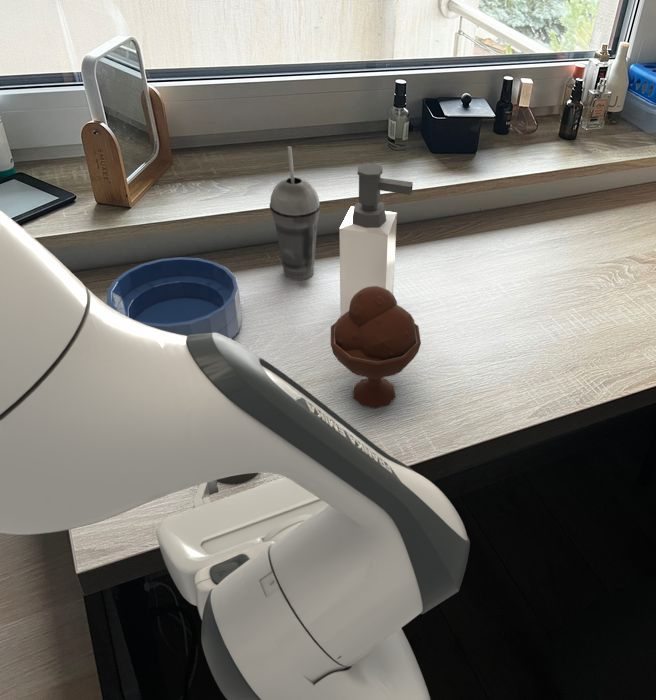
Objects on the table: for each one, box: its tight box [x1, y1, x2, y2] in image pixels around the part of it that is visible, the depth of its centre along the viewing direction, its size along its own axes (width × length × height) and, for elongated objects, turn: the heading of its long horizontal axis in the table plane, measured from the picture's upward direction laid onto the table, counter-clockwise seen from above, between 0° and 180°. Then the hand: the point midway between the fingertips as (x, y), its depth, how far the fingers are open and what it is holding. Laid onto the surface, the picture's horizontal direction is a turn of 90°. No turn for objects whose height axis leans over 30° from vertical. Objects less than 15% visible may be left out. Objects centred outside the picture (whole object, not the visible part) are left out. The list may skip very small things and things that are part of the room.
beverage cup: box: [269, 146, 322, 281], centre depth 106 cm, size 7×7×20 cm
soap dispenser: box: [339, 162, 414, 317], centre depth 100 cm, size 6×9×22 cm
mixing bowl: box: [106, 256, 243, 340], centre depth 97 cm, size 16×16×6 cm
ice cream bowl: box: [330, 286, 422, 409], centre depth 88 cm, size 11×11×15 cm
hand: (254, 458), depth 69 cm, fingers open, 8 cm apart
